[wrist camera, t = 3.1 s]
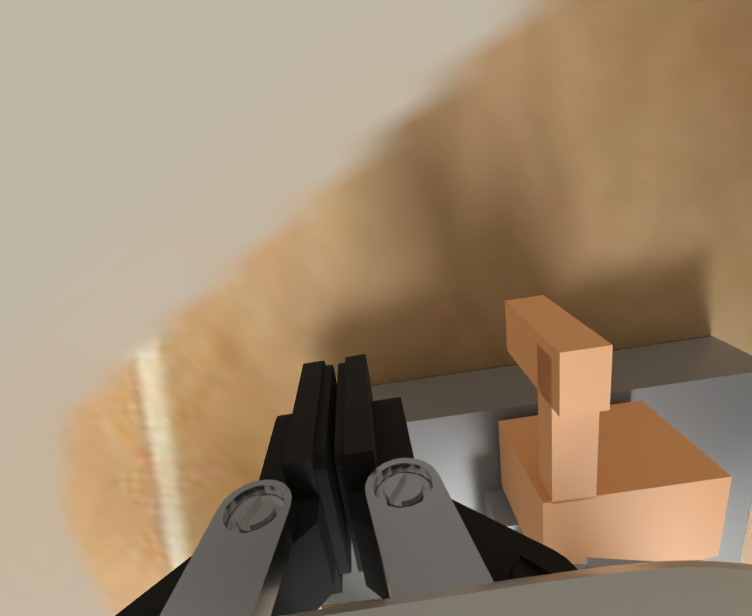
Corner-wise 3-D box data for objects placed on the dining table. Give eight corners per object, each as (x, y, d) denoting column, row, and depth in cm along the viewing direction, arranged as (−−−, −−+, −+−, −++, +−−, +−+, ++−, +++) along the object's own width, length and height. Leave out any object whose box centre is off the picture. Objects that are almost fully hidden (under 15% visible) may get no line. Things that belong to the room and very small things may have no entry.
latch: (651, 273, 16) (776, 321, 11) (633, 505, 19) (721, 615, 15) (491, 297, 16) (548, 354, 11) (503, 523, 19) (550, 639, 15)
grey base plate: (711, 336, 21) (827, 393, 16) (687, 520, 25) (773, 614, 20) (355, 387, 21) (354, 461, 16) (387, 562, 25) (394, 667, 20)
